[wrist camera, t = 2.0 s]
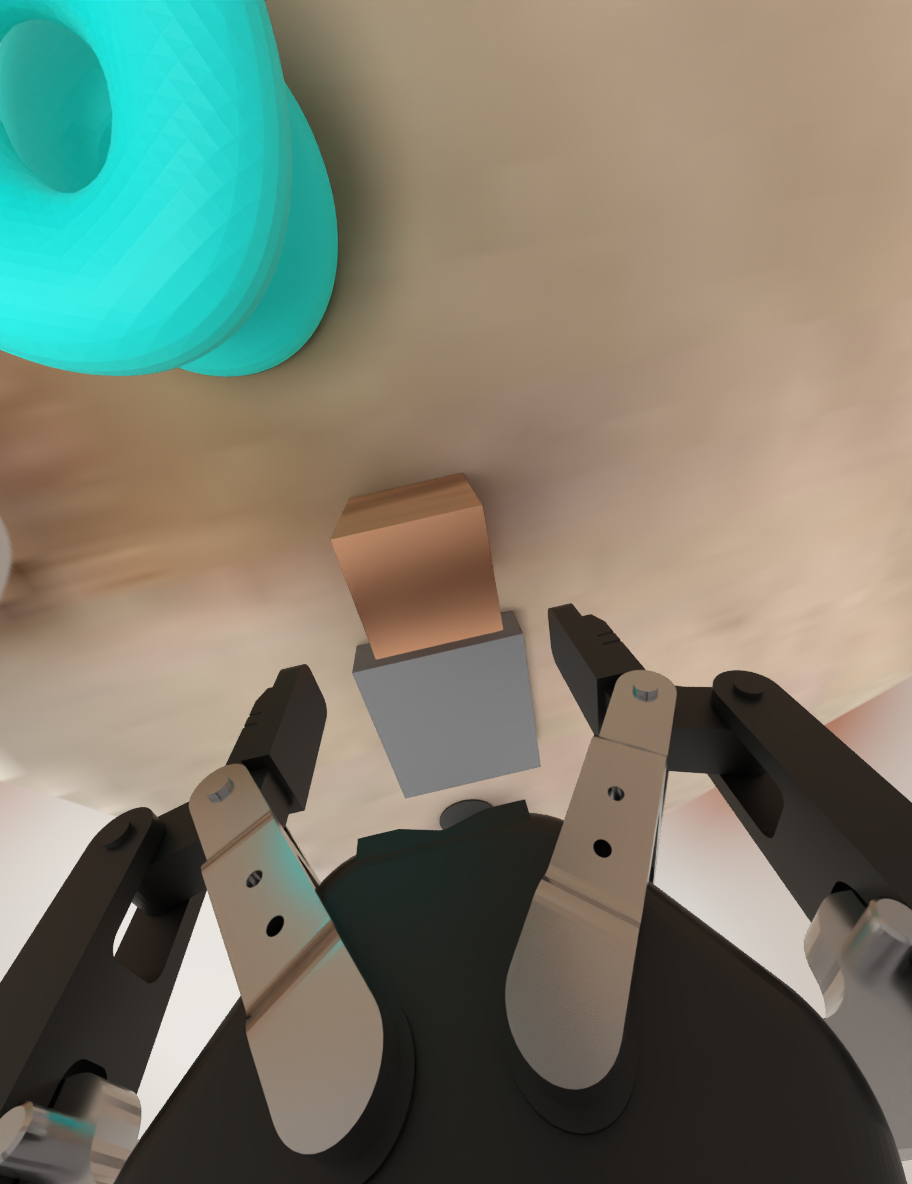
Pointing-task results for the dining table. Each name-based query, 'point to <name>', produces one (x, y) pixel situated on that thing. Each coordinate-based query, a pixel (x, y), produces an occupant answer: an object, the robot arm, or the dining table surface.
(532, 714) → the base
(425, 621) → the cube
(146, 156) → the donuts
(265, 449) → the dining table surface
